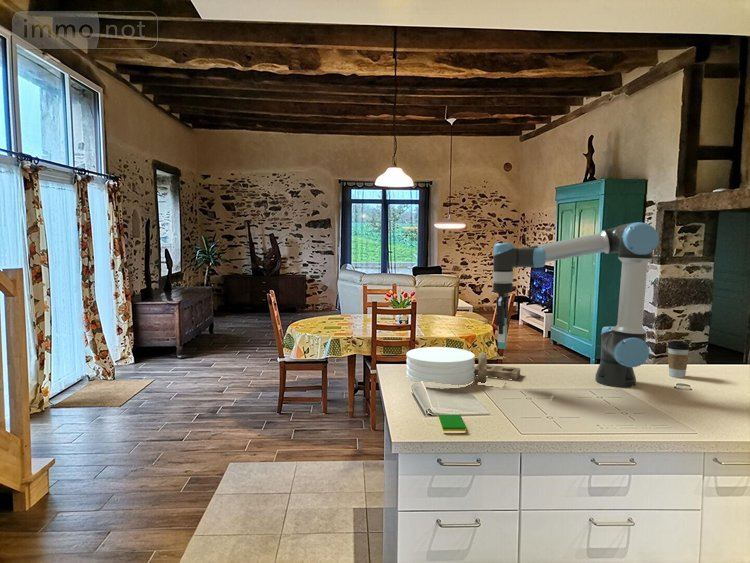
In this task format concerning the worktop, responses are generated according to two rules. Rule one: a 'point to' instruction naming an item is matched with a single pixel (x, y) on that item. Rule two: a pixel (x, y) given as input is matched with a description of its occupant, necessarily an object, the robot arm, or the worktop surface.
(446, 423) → the dish sponge
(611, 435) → the worktop surface
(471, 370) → the plate stack
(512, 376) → the walnut block
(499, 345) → the teal dowel
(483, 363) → the oak dowel
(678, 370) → the coffee cup
